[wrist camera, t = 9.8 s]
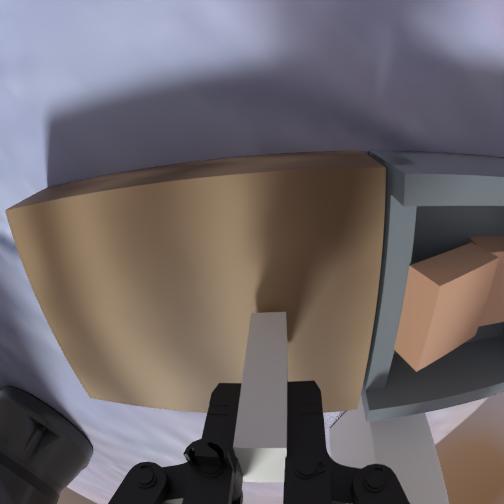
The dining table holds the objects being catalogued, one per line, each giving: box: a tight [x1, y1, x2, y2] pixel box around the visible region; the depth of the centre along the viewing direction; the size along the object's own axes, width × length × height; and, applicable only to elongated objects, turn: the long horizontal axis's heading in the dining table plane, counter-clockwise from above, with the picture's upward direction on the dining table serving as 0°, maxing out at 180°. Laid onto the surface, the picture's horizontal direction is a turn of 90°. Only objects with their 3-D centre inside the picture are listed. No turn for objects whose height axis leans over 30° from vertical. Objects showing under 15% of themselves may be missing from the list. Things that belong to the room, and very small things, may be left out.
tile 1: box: [467, 235, 504, 326], centre depth 15 cm, size 5×5×2 cm
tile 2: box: [394, 243, 499, 372], centre depth 14 cm, size 5×5×2 cm
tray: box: [361, 151, 504, 422], centre depth 14 cm, size 13×14×5 cm
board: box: [5, 151, 386, 413], centre depth 17 cm, size 18×14×4 cm
